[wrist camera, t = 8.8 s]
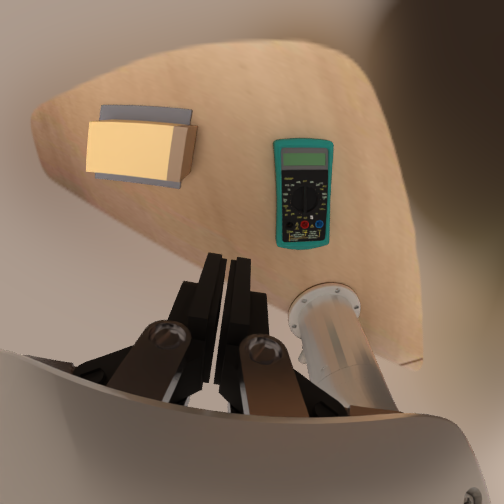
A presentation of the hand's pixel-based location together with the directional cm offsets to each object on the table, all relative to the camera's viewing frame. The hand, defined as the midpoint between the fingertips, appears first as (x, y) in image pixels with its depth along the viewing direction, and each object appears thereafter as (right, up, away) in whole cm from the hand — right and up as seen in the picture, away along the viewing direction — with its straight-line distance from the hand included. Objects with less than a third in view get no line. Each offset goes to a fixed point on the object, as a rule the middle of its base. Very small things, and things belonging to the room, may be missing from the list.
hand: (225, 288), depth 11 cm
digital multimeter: (+8, +10, +25) cm, 28 cm away
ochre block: (-6, +13, +18) cm, 23 cm away
